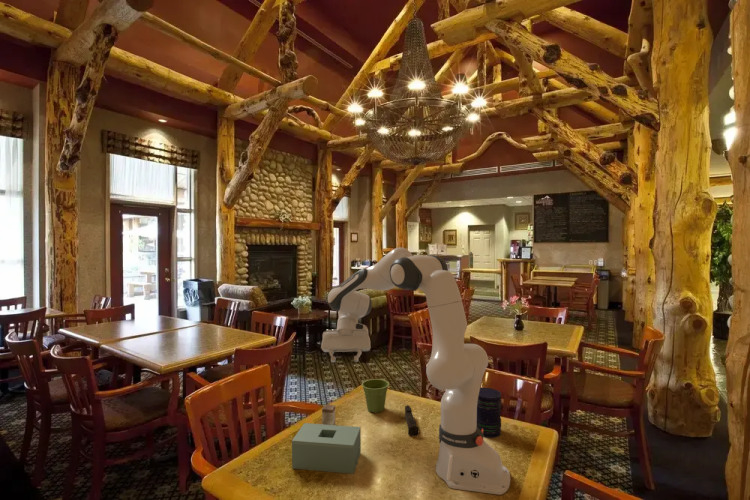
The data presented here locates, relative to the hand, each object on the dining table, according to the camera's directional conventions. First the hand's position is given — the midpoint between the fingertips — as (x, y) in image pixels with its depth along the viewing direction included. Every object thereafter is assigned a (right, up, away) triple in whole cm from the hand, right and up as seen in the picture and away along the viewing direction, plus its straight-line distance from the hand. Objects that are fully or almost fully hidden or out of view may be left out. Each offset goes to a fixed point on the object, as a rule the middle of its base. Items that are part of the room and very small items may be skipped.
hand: (344, 361), depth 154 cm
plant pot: (+12, -24, +12) cm, 30 cm away
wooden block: (-5, -25, -8) cm, 27 cm away
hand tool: (+26, -25, -1) cm, 36 cm away
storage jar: (+55, -25, -7) cm, 61 cm away
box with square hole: (-3, -25, -26) cm, 37 cm away
